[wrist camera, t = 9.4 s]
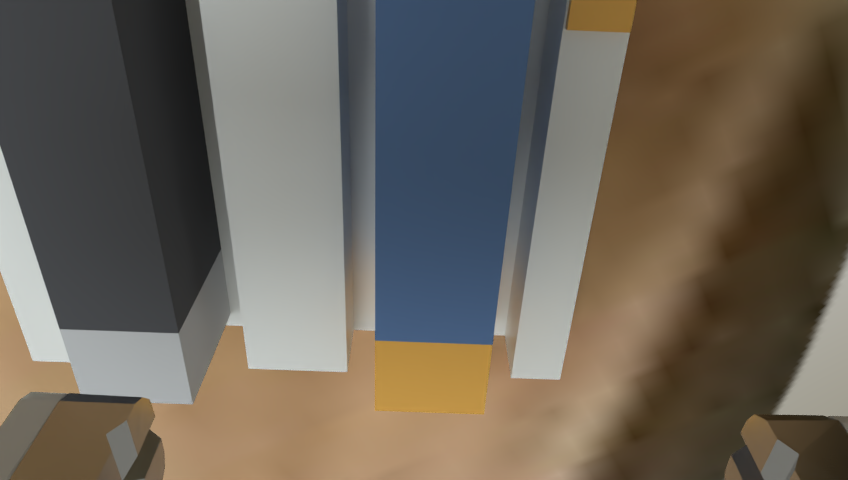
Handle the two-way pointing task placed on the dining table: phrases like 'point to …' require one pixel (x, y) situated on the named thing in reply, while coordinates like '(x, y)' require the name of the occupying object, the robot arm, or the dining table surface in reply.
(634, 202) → the dining table surface
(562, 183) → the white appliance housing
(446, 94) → the blue bar yellow end
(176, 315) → the dark grey square rod
